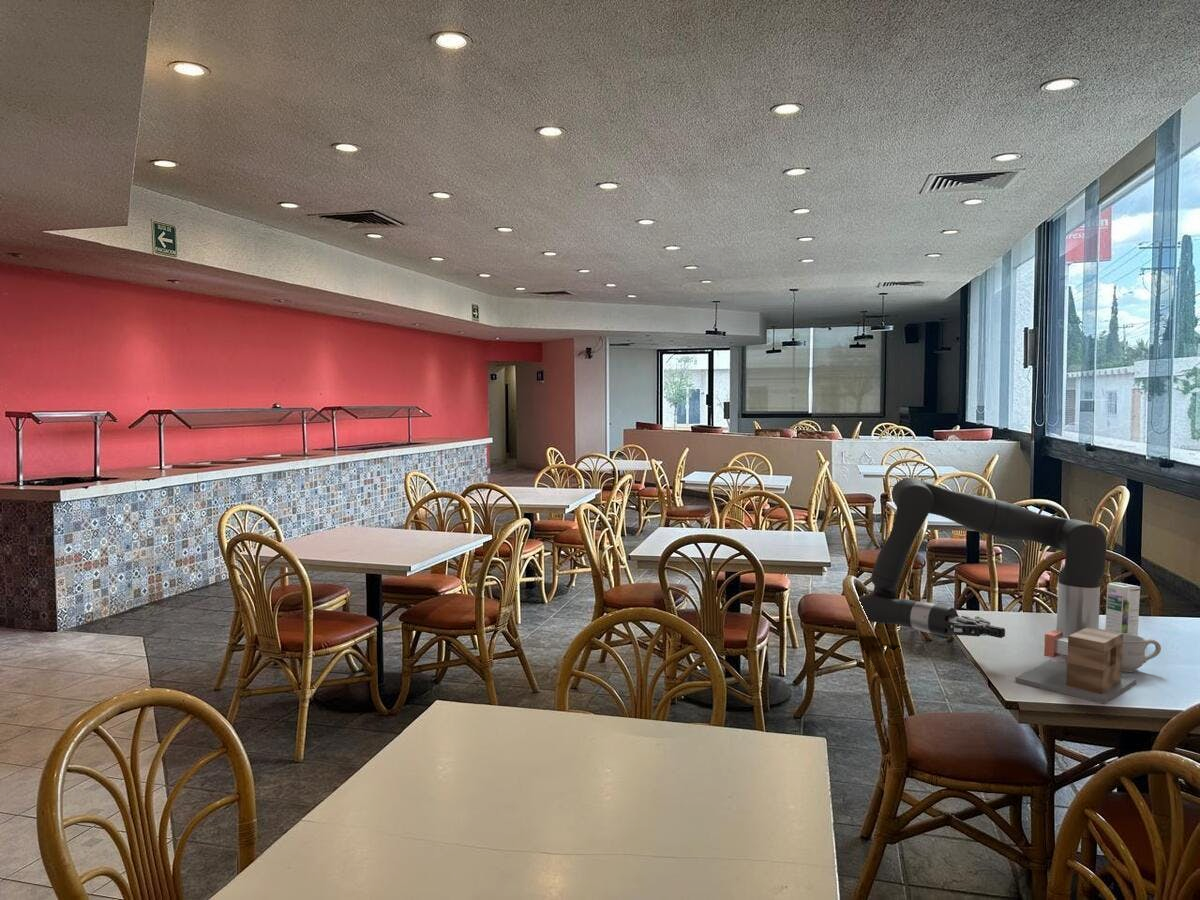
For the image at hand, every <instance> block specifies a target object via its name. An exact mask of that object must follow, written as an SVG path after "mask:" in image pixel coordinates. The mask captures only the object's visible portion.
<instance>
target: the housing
mask: <svg viewBox="0 0 1200 900" xmlns="http://www.w3.org/2000/svg"><path fill="white" fill-rule="evenodd" d="M1122 649H1123V633H1118V632H1113V631H1108V630H1105V629H1102V628H1098V629H1097V628H1092V627H1087V628H1084V629H1082V630H1080V631H1078V632H1076V633H1074V634H1071V635H1069V636H1068V655H1066V656H1067V658H1066V659H1067V660H1066V664H1067V679H1066V686H1070V687H1074V688H1078V689H1082V690H1087V691H1091V692H1095V693H1099V694H1103V693H1105V692H1106V691H1108V690H1110V689H1111V688H1113V687H1114V686H1116V685H1118V684H1119V683H1121V676H1122V672H1123V671H1122Z"/></svg>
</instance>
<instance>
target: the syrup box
mask: <svg viewBox="0 0 1200 900" xmlns="http://www.w3.org/2000/svg"><path fill="white" fill-rule="evenodd" d="M1106 585H1107V587H1106V607H1105V625H1104V626H1105V627H1104V628H1105V629H1104V630H1108V631H1113V632H1118V633H1126V634H1131V635H1136V636H1139V633H1138V631H1139V617H1140V616H1139V615H1140V601H1141V600H1140V597H1141V595H1140V594H1141V586H1140V585H1139V586H1138V585H1133V584H1128V583H1124V582H1117V581H1116V582H1110V583H1107V584H1106Z"/></svg>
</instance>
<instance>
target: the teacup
mask: <svg viewBox="0 0 1200 900" xmlns="http://www.w3.org/2000/svg"><path fill="white" fill-rule="evenodd" d="M1151 644H1152V645H1154V646H1155V650H1154V651H1152V653H1151V652H1150V654H1147V655H1146V649H1147V647H1148V645H1151ZM1161 650H1162V647H1161V644H1160V643H1159V642H1158V641H1157V640H1156V639H1151V638H1148V639H1146V638H1145V637H1142V636H1140V635H1138V636H1136V635H1131V634H1126V633H1123V649H1122V672H1125V673H1131V672H1132V673H1133V672H1135V671H1137V670H1138V669H1140V668H1141V667H1142V666H1143V665H1144V664H1146V663H1147V662H1148V661H1149V660H1152V659H1153V658H1156V657H1157V656H1159V654H1161Z"/></svg>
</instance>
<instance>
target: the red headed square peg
mask: <svg viewBox="0 0 1200 900" xmlns="http://www.w3.org/2000/svg"><path fill="white" fill-rule="evenodd" d="M1043 652H1044V653H1043V657H1047V658H1052V659H1055V658H1057V657H1059V656H1060V655H1065V656H1067V655H1068V639H1067V638H1063V632H1060V631H1056V629H1055V630H1054V629H1053V630H1051V631H1049V632H1047V633H1044V650H1043Z"/></svg>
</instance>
